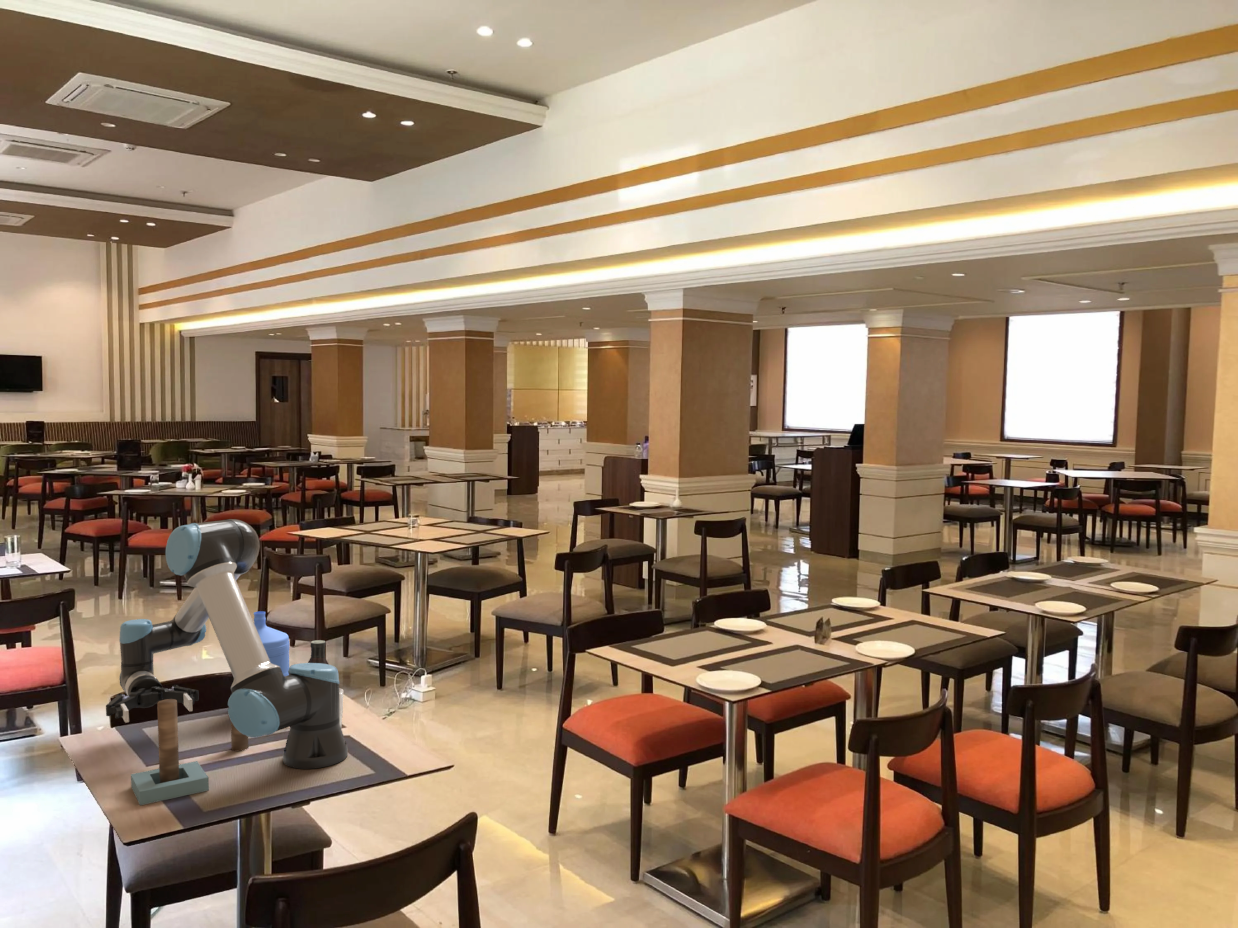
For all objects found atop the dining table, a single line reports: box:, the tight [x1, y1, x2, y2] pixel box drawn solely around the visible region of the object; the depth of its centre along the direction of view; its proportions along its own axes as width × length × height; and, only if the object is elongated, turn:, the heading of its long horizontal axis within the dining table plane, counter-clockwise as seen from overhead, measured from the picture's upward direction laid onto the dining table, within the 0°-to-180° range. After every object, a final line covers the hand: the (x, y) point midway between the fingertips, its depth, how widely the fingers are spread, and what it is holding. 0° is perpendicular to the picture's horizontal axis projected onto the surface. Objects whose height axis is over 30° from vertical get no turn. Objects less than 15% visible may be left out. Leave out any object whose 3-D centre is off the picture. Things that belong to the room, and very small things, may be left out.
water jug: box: [253, 610, 291, 676], centre depth 270 cm, size 16×16×28 cm
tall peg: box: [156, 699, 180, 783], centre depth 215 cm, size 4×4×20 cm
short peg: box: [230, 721, 249, 752], centre depth 241 cm, size 4×4×9 cm
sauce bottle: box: [307, 639, 330, 665], centre depth 270 cm, size 7×6×20 cm
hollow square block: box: [130, 760, 210, 806], centre depth 216 cm, size 12×14×3 cm
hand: (159, 710), depth 223 cm, fingers open, 13 cm apart
